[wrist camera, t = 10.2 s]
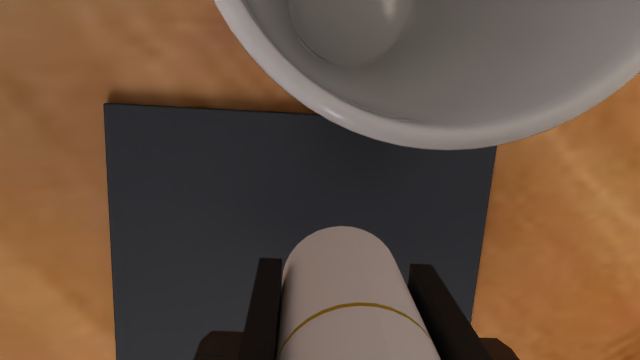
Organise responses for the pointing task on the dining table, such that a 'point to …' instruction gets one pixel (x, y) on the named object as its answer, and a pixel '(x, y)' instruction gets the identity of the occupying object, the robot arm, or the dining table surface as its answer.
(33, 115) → the dining table surface
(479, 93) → the drinking glass
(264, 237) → the charcoal mat
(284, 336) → the tube
